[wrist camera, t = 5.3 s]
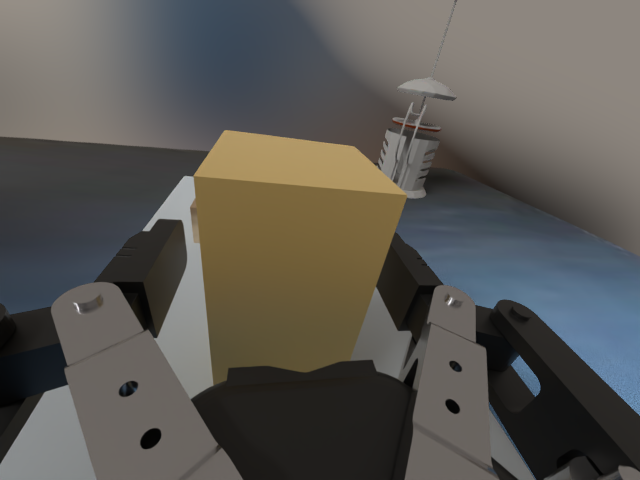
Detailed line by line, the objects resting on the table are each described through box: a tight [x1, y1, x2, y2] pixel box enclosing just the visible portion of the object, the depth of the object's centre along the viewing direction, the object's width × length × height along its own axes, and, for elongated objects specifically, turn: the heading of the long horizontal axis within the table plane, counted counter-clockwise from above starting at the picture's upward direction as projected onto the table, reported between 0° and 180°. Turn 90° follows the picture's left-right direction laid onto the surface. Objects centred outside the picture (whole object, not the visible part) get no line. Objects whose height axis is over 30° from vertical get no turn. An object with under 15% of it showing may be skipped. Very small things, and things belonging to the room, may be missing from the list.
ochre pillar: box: [193, 130, 407, 385], centre depth 11 cm, size 5×5×10 cm
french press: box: [377, 0, 457, 198], centre depth 37 cm, size 10×12×25 cm
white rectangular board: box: [0, 176, 535, 480], centre depth 20 cm, size 20×32×1 cm, turn 9°
